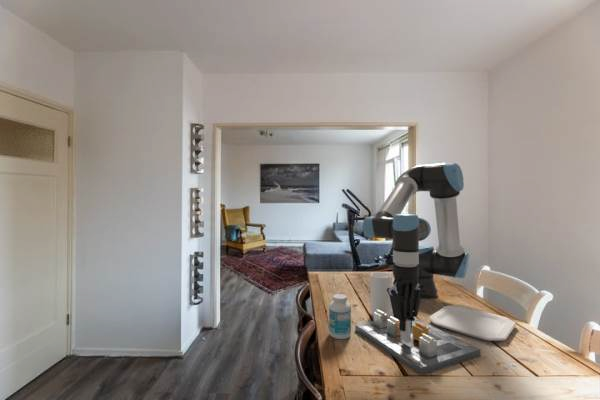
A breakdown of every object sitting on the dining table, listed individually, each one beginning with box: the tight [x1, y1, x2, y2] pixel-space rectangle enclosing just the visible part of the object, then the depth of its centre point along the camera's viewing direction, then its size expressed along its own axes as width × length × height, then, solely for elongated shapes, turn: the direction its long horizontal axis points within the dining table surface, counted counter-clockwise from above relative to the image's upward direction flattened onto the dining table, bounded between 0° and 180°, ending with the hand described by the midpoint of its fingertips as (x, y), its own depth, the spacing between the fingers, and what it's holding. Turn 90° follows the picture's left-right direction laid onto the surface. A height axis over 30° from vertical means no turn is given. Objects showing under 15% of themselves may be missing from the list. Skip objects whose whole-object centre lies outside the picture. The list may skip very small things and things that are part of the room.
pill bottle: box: [328, 293, 352, 340], centre depth 104 cm, size 8×7×14 cm
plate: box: [428, 305, 517, 342], centre depth 112 cm, size 25×25×2 cm
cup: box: [370, 272, 393, 318], centre depth 122 cm, size 8×8×16 cm
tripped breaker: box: [413, 322, 429, 341], centre depth 96 cm, size 3×4×5 cm
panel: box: [354, 309, 481, 377], centre depth 99 cm, size 24×30×7 cm
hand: (405, 340), depth 93 cm, fingers closed
